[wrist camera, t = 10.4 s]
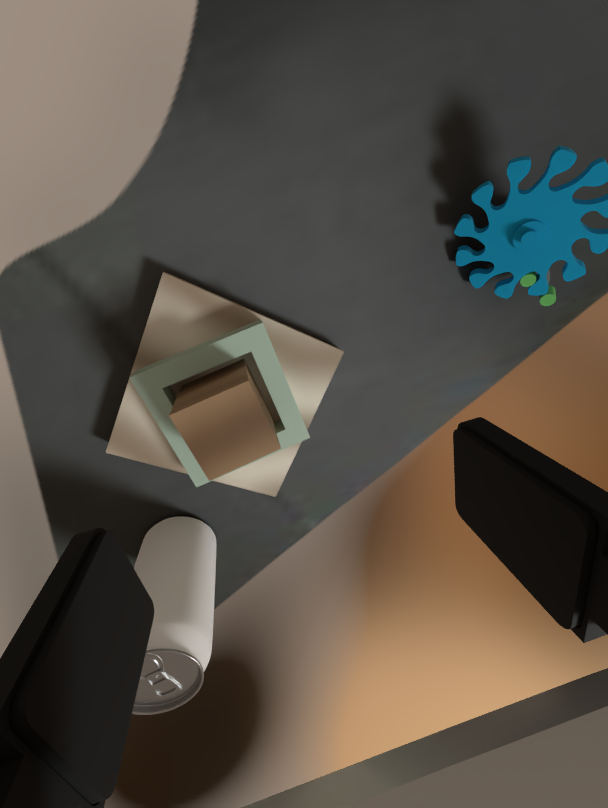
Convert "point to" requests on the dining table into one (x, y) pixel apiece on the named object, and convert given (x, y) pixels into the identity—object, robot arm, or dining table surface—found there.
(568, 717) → the robot arm
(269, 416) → the block
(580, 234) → the gear
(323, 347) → the board
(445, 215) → the dining table surface
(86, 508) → the dining table surface
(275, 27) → the dining table surface
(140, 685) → the can
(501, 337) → the dining table surface
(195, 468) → the pocket
